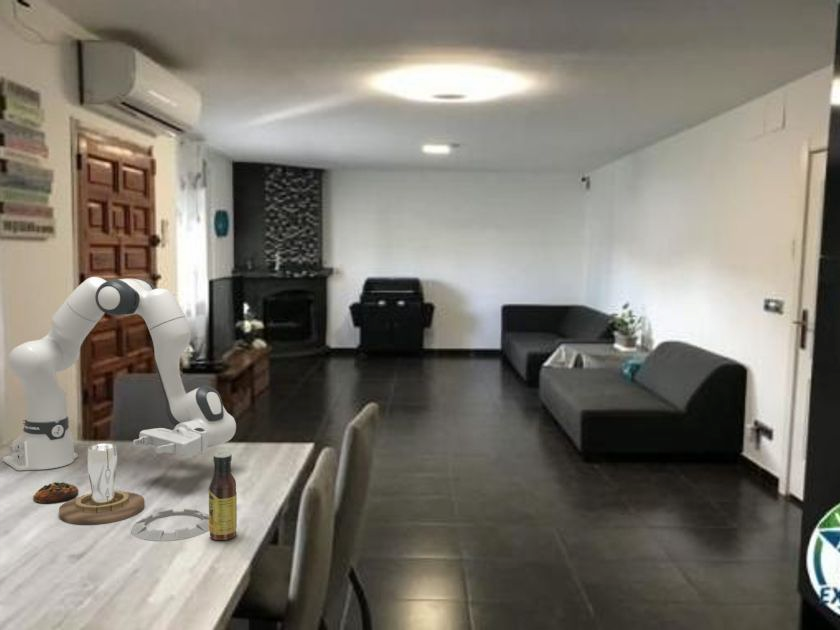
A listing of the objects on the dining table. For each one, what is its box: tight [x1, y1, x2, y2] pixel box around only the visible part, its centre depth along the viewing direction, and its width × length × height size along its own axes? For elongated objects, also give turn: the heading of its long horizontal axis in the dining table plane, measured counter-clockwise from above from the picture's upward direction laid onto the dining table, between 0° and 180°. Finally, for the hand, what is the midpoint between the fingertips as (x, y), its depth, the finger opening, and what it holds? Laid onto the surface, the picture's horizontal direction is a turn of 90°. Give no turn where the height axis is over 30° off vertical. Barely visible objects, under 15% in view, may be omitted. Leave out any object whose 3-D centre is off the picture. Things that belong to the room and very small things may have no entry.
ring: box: [130, 508, 210, 542], centre depth 173 cm, size 19×19×2 cm
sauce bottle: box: [208, 451, 238, 541], centre depth 166 cm, size 6×6×20 cm
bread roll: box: [32, 481, 79, 504], centre depth 192 cm, size 11×11×5 cm
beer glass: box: [86, 443, 118, 506], centre depth 182 cm, size 7×7×15 cm
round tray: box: [58, 490, 146, 526], centre depth 182 cm, size 20×20×3 cm
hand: (145, 446), depth 194 cm, fingers open, 8 cm apart
